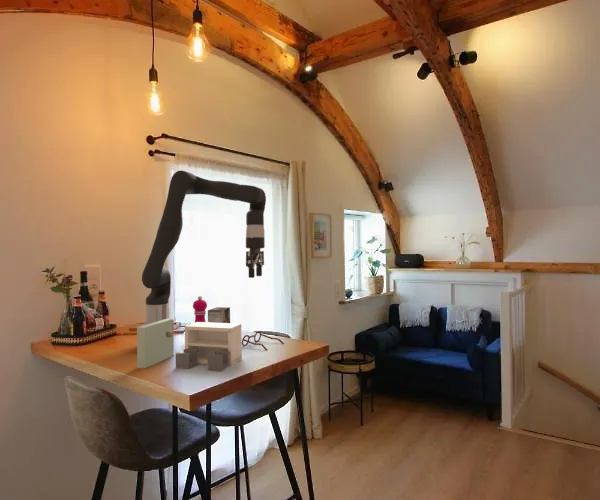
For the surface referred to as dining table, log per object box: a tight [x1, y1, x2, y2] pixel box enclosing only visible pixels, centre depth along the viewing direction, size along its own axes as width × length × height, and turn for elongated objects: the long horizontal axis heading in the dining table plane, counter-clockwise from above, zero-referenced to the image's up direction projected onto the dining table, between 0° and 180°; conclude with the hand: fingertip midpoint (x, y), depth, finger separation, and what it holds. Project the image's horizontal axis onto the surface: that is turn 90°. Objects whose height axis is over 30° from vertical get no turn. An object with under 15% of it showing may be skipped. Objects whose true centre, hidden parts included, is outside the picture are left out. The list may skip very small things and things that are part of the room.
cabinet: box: [175, 321, 243, 372], centre depth 152 cm, size 18×16×13 cm
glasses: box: [241, 331, 285, 351], centre depth 180 cm, size 13×13×5 cm
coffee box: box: [207, 306, 231, 323], centre depth 176 cm, size 9×6×16 cm
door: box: [136, 318, 175, 369], centre depth 155 cm, size 18×5×14 cm, turn 165°
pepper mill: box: [192, 295, 208, 323], centre depth 187 cm, size 7×7×20 cm
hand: (255, 276), depth 172 cm, fingers open, 8 cm apart
